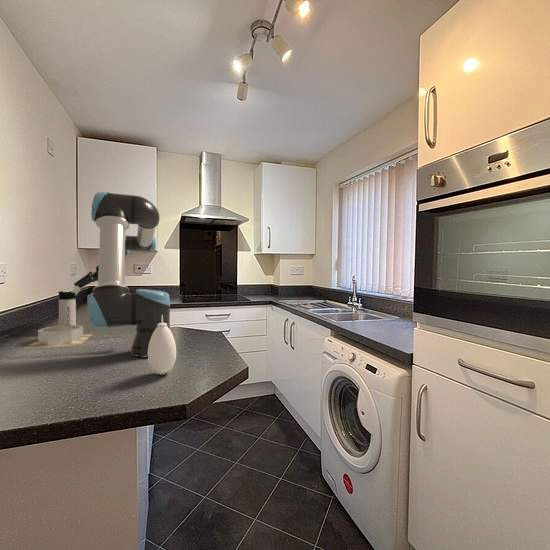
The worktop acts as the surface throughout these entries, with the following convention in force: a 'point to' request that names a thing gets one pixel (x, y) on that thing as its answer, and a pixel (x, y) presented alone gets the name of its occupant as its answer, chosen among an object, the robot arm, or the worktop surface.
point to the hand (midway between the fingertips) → (80, 298)
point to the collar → (60, 334)
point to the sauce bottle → (161, 349)
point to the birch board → (58, 345)
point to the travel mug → (67, 308)
